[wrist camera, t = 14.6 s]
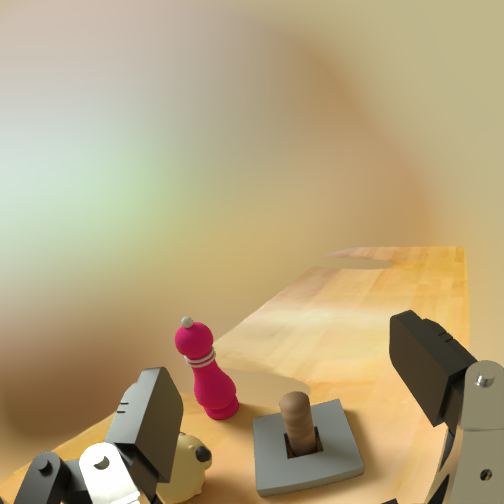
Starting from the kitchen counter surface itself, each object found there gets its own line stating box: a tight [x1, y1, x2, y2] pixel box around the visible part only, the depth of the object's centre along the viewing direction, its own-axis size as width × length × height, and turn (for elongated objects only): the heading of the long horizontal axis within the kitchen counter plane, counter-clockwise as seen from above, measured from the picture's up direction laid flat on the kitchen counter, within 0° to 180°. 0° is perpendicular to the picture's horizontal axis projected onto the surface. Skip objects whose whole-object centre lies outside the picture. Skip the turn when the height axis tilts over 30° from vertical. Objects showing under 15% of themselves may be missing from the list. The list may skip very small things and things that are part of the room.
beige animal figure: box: [156, 432, 212, 504], centre depth 30 cm, size 10×12×11 cm
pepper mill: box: [175, 317, 239, 419], centre depth 45 cm, size 7×7×20 cm
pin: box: [279, 392, 317, 458], centre depth 33 cm, size 4×4×12 cm
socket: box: [253, 399, 364, 497], centre depth 34 cm, size 14×14×2 cm
